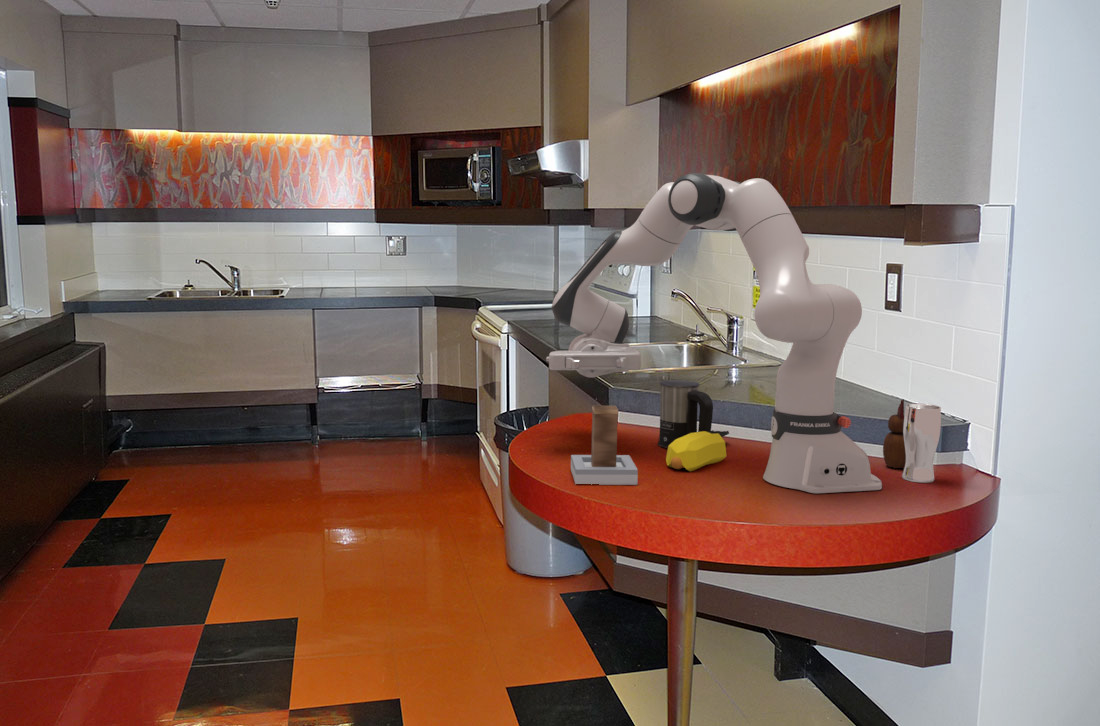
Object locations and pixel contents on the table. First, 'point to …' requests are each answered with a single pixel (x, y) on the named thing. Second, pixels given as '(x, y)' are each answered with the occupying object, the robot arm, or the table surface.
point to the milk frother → (683, 411)
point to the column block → (604, 436)
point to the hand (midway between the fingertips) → (598, 364)
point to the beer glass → (920, 441)
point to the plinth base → (604, 471)
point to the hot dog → (696, 450)
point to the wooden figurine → (895, 440)
